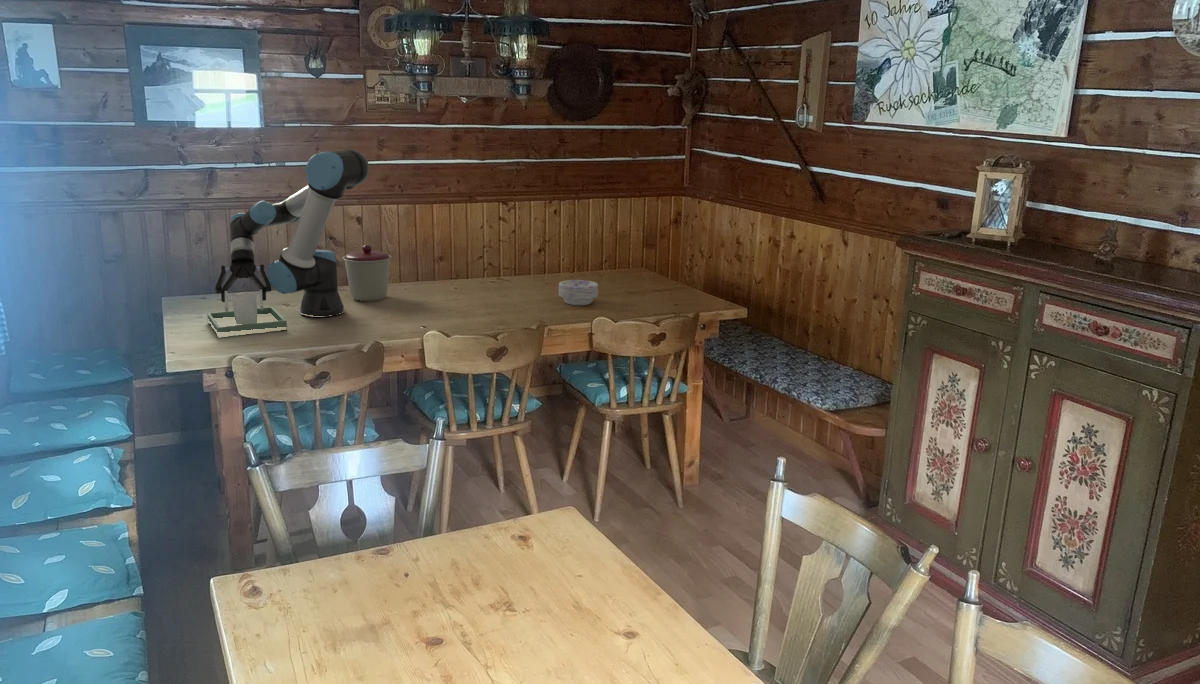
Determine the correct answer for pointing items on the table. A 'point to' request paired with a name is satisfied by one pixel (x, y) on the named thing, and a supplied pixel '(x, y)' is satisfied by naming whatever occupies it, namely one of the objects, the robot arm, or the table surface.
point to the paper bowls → (578, 291)
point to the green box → (266, 310)
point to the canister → (367, 273)
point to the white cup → (245, 307)
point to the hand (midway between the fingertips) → (244, 308)
